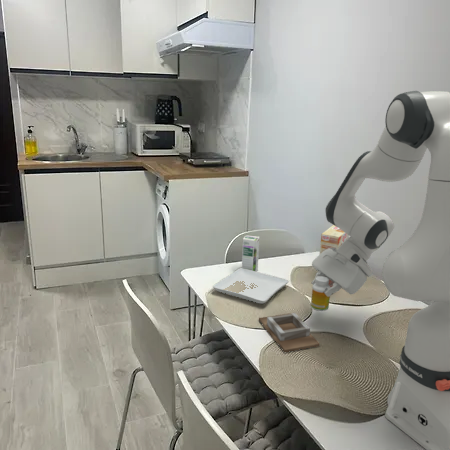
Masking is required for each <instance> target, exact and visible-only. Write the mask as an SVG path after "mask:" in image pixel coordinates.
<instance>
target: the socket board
mask: <svg viewBox="0 0 450 450" xmlns="http://www.w3.org/2000/svg"><path fill="white" fill-rule="evenodd" d="M259 321H260V322H261V323H262V324H263V326H264V327H265V328H264V327H263V326H262V327H263V328H264V329H265V331H266V330H267V331H266V332H267V333H268V335H269V336H270V337H271V338H272V339H273V340H274V342H275V341H276V342H277V343H278V344H279V345H280V347H281V348H282V349H283V350H282V349H281V348H280V347H279V348H280V349H281V350H282V352H283V351H284V352H288V353H290V352H289V351H293V352H296V351H295V350H298V351H300V350H299V349H303V350H307V349H306V348H309V349H311V348H310V347H314V348H317V347H316V346H319V347H320V342H319V341H318V340H317V339H316V338H315V337H314V336H313V335H312V334H311V328H310V326H308V325H307V324H306V322H304V320H302V318H300V317H299V315H298V314H297V313H296V312H293V313H292V312H289V313H284V314H276V315H269V316H263V317H259V318H258V322H259ZM260 322H259V323H260ZM261 323H260V324H261ZM262 324H261V325H262ZM276 342H275V343H276ZM277 343H276V344H277ZM278 344H277V345H278ZM279 345H278V346H279ZM284 352H283V353H284Z"/></svg>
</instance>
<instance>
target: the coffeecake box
mask: <svg viewBox="0 0 450 450" xmlns="http://www.w3.org/2000/svg"><path fill="white" fill-rule="evenodd" d="M320 236H321V237H320V243H319V244H320V245H319V253H318V254H319V255H320V254H321V253H322V252H323V251H325V250H327V249H328V248H333V247H334V248H336V249H338V248H339V247H340V246H341V245H342V243H343V242H344V241H345V240H346V239H348V238H349V237H350V236H349V235H348V234H346V233H345V232H344V231H342V230H341V229H340V228H338V227H336V226H335V225H333V224H332V225H331V226H330V227H329V228H327V229H326V230H324V231H323V232H322V233H321V235H320ZM331 250H332V249H331ZM319 255H318V256H319Z"/></svg>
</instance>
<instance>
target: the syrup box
mask: <svg viewBox="0 0 450 450" xmlns="http://www.w3.org/2000/svg"><path fill="white" fill-rule="evenodd" d="M260 237H261V236H256V235H255V236H253V235H249V234H247V235H244V237H243V238H242V253H241V256H242V257H241V268H243V269H247V270H252V271H256V272H258V270H259V255H260V254H259V253H260Z"/></svg>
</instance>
